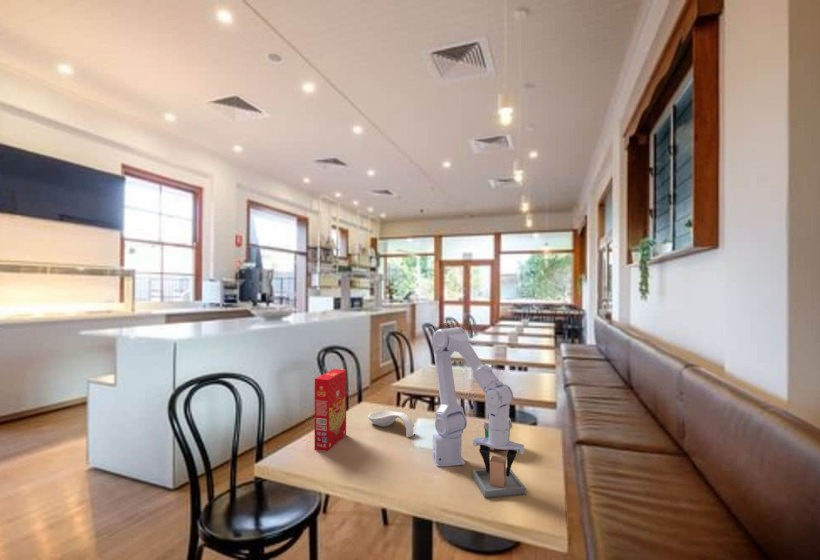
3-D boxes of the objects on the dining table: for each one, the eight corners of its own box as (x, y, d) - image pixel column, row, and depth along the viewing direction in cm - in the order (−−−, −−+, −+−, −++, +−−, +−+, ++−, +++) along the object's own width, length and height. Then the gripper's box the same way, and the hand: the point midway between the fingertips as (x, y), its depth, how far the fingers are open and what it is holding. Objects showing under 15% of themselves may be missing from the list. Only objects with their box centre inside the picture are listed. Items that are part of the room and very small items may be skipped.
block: (490, 485, 118) (490, 461, 118) (492, 478, 122) (492, 455, 122) (503, 487, 117) (504, 463, 116) (505, 480, 120) (505, 457, 120)
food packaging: (328, 451, 140) (328, 380, 140) (314, 449, 142) (314, 378, 141) (346, 434, 155) (346, 369, 154) (333, 433, 156) (333, 368, 155)
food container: (497, 457, 137) (497, 428, 137) (483, 450, 142) (483, 422, 142) (519, 447, 145) (519, 419, 145) (505, 441, 150) (505, 414, 149)
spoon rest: (362, 423, 167) (362, 406, 167) (384, 416, 175) (384, 400, 175) (401, 441, 150) (401, 422, 150) (423, 432, 158) (423, 414, 158)
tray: (485, 498, 112) (485, 491, 112) (472, 476, 124) (472, 469, 124) (525, 494, 114) (525, 488, 114) (509, 473, 126) (509, 467, 126)
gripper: (525, 425, 120) (524, 471, 120) (476, 419, 125) (476, 462, 125) (523, 434, 113) (522, 482, 114) (471, 427, 118) (471, 473, 119)
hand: (498, 472), depth 119 cm, fingers open, 5 cm apart
